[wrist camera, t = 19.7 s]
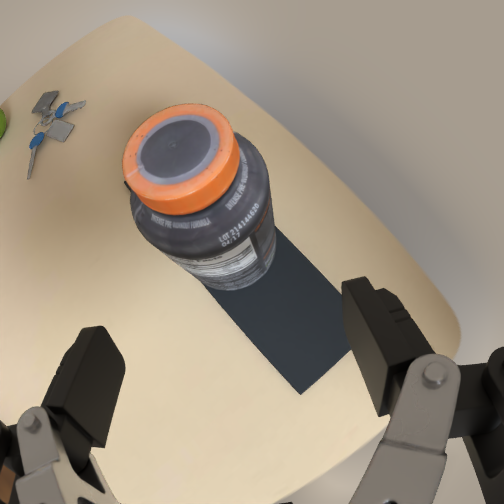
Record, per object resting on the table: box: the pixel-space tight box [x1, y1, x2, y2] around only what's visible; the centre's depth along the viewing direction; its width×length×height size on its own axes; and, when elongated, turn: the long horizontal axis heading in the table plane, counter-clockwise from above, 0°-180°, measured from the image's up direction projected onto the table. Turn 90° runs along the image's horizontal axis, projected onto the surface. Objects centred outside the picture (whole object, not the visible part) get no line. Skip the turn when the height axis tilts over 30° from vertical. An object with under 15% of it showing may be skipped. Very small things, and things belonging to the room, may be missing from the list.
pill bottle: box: [122, 104, 276, 291], centre depth 15 cm, size 6×6×11 cm
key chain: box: [27, 91, 86, 179], centre depth 27 cm, size 14×8×1 cm, turn 23°
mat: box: [124, 181, 351, 395], centre depth 21 cm, size 20×6×1 cm, turn 41°
